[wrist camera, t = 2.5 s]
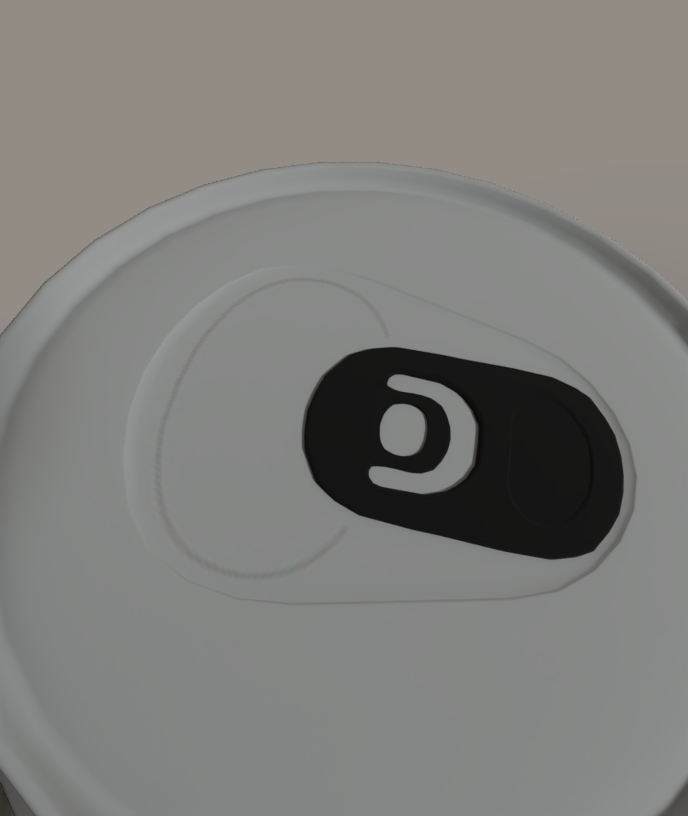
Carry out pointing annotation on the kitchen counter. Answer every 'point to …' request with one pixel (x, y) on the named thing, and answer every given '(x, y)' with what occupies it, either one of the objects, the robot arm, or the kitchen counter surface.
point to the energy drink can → (346, 510)
